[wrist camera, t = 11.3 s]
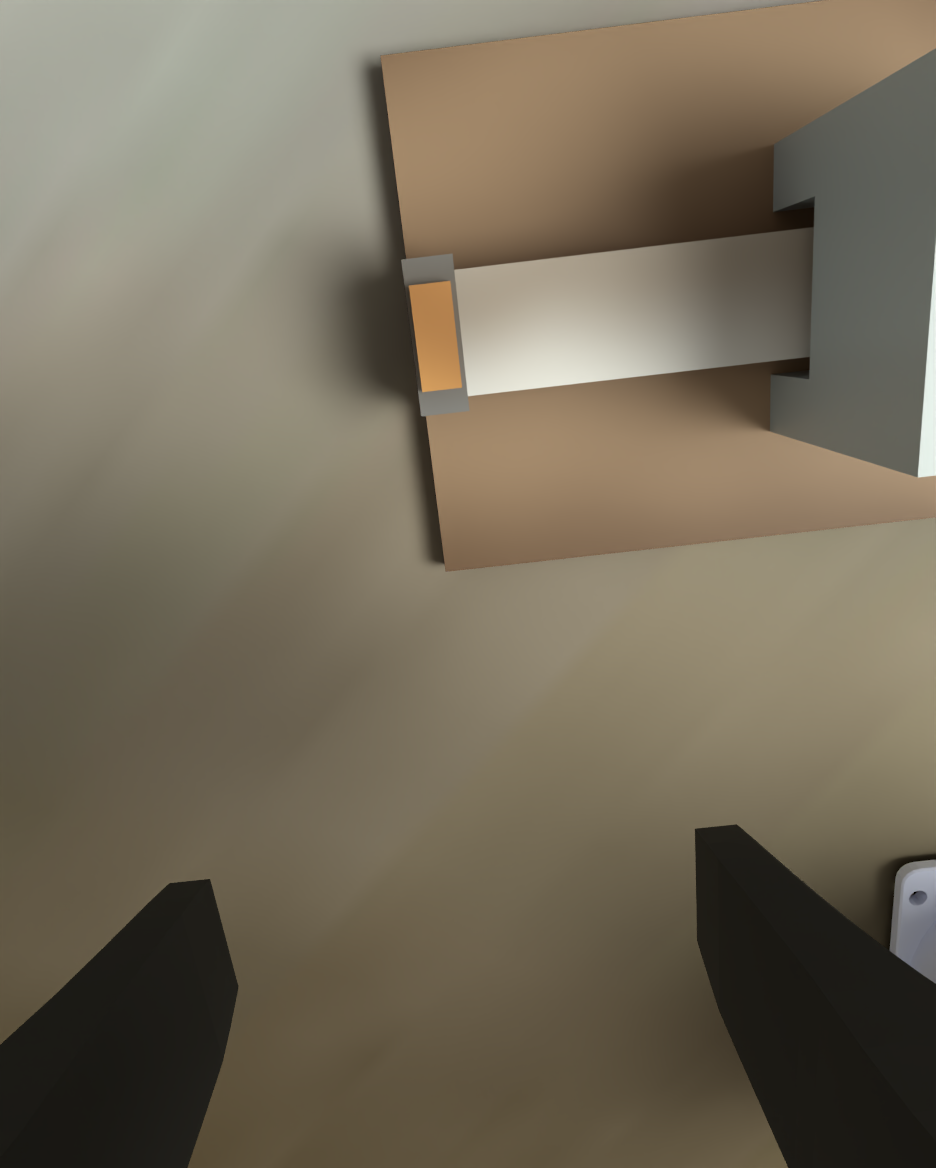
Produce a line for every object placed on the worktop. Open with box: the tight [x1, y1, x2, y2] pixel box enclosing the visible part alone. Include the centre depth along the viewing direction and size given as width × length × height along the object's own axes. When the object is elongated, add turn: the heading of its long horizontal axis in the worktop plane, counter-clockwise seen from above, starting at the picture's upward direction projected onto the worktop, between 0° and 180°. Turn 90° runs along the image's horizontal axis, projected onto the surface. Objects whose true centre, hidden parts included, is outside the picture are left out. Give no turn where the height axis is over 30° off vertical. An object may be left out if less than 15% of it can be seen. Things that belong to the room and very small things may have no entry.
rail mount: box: [381, 0, 936, 572], centre depth 16 cm, size 11×18×3 cm, turn 96°
